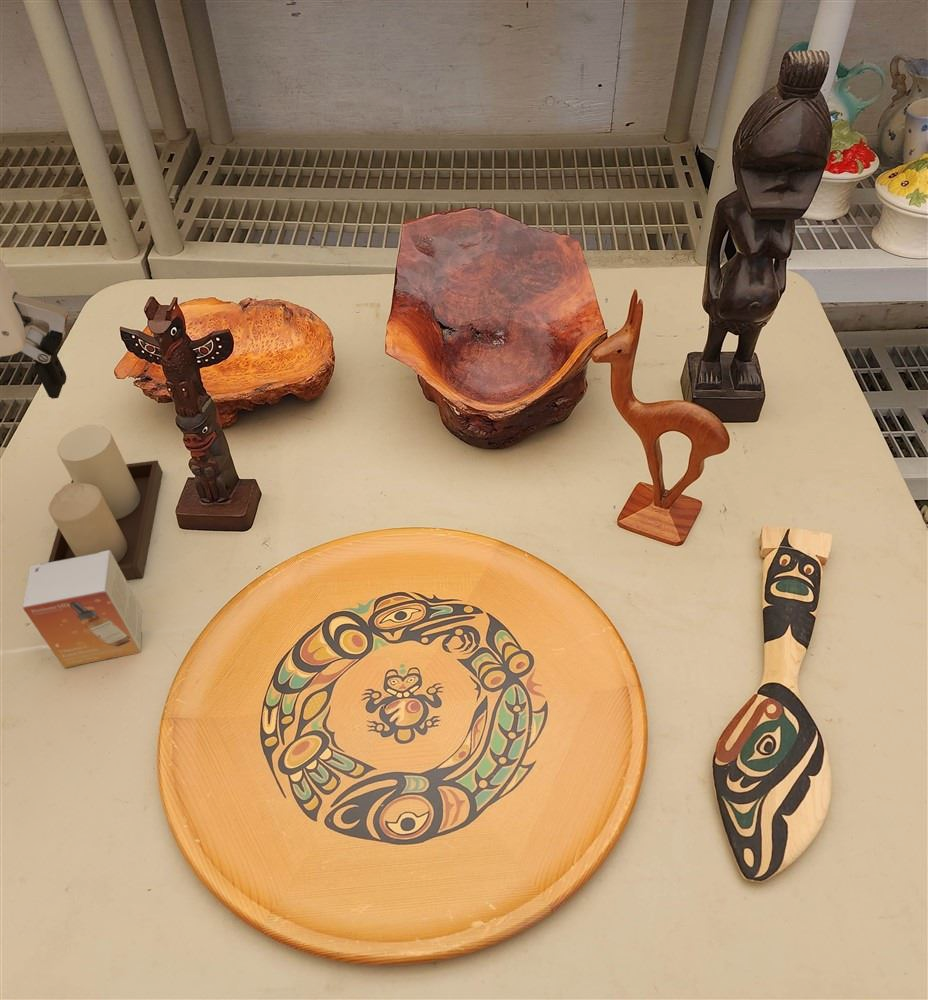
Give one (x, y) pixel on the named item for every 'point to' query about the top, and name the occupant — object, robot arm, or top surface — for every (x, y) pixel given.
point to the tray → (129, 522)
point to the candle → (87, 521)
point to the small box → (84, 609)
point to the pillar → (100, 467)
